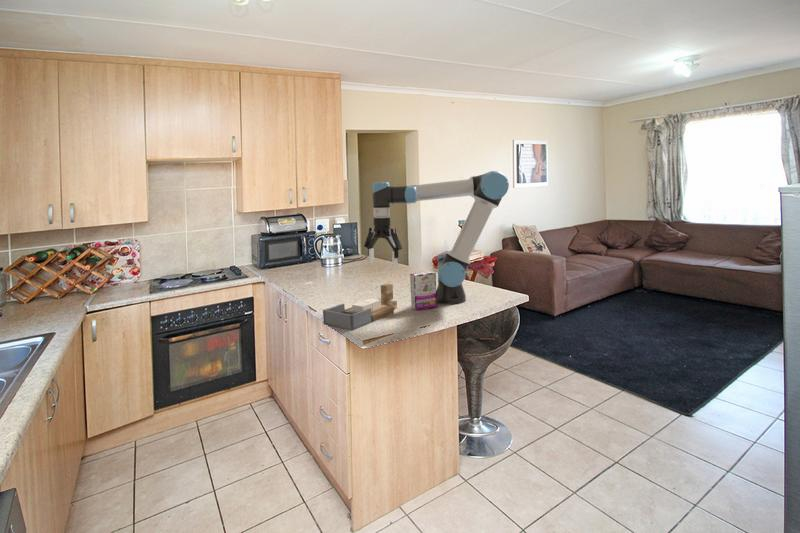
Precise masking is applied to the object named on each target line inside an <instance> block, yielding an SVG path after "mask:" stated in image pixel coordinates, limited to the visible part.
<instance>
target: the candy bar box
mask: <svg viewBox="0 0 800 533" xmlns="http://www.w3.org/2000/svg"><path fill="white" fill-rule="evenodd" d="M409 281H410V282H409V283H410V284H409V285H410V301H411V302H410V303H411V304H410V305H411V309H412V310H413V311H421V310H426V309H427V310H428V309H433V308H437V306H438V304H437V303H438V302H437V299H436V290H437V273H436V272H434V271H432V270H430V271H423V272H415V273H414V272H413V273H410V274H409Z"/></svg>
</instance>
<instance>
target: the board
mask: <svg viewBox="0 0 800 533" xmlns="http://www.w3.org/2000/svg"><path fill="white" fill-rule="evenodd" d="M394 310H395V309H394V307H393V306H386V305H381V307H379V308H376V309H373V310H371V313H372V323H373V322H376V321H378V320H381V319H384V318H385V317H388V316H390V315H392V314H395V311H394ZM345 311H350V312H352V306H351V307H349V308H345ZM355 313H358V312H355Z"/></svg>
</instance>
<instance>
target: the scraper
mask: <svg viewBox="0 0 800 533" xmlns="http://www.w3.org/2000/svg"><path fill="white" fill-rule="evenodd" d="M393 287H394V284H392V283H383V284H380V297H378V298H377V299H378V300H381V305H386V306H393V307H394V310H397V309H398V301H397V300H396V299H394V288H393Z"/></svg>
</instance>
